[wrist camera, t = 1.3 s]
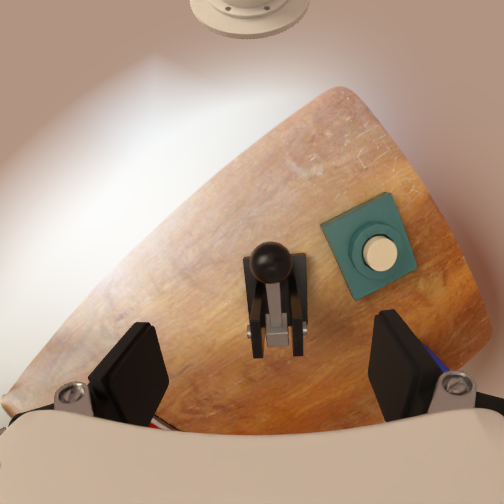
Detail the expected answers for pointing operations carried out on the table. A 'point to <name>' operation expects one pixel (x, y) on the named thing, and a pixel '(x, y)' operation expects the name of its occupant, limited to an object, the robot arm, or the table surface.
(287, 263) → the lever
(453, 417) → the robot arm
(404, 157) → the table surface
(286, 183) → the table surface
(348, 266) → the button block
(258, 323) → the bracket
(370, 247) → the button
